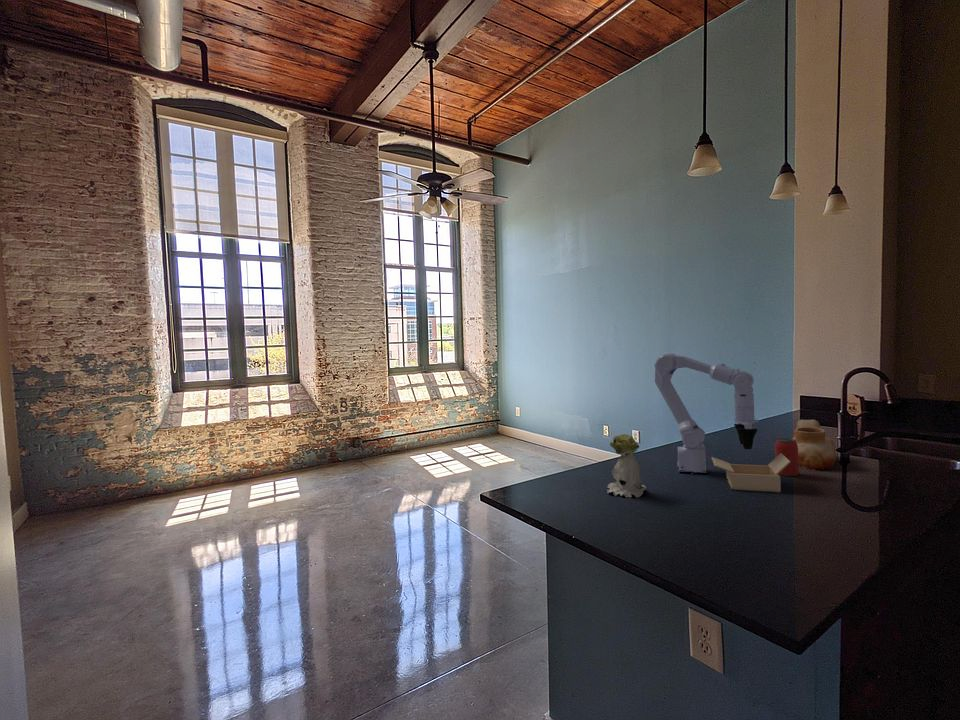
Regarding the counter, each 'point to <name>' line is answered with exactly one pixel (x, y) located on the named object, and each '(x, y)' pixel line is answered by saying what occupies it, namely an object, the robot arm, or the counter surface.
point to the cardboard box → (753, 478)
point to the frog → (626, 468)
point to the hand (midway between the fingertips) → (745, 446)
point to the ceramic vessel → (813, 445)
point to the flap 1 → (722, 464)
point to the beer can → (788, 455)
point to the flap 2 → (779, 463)
